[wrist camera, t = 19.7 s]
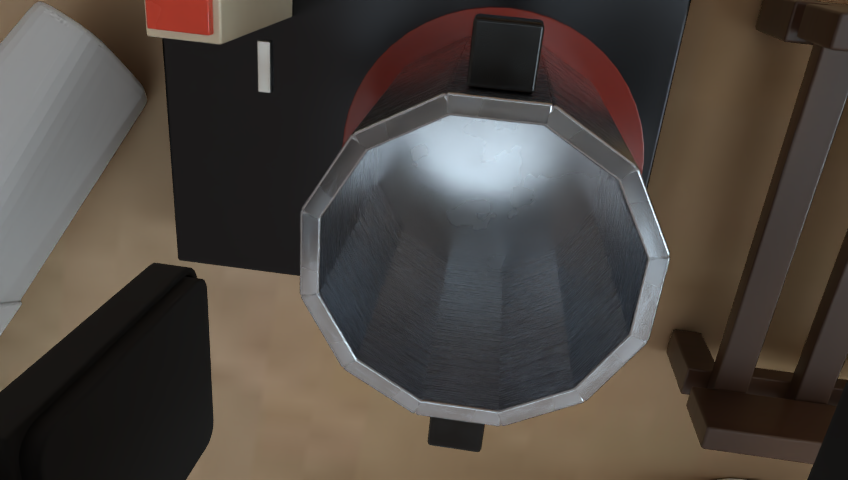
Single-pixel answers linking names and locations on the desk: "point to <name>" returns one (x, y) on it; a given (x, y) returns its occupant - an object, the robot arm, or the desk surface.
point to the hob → (339, 108)
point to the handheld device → (53, 136)
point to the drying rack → (780, 275)
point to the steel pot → (484, 238)
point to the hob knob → (212, 18)
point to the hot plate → (555, 38)
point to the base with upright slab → (731, 479)
